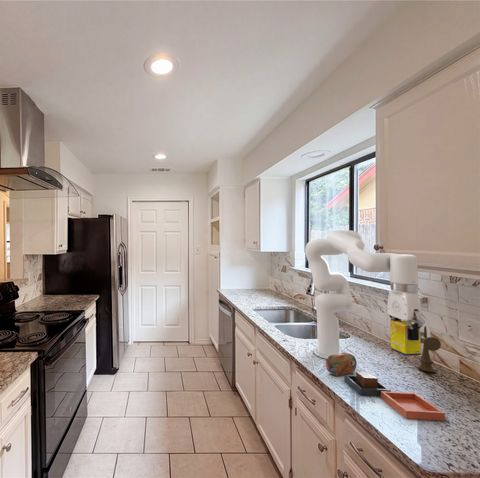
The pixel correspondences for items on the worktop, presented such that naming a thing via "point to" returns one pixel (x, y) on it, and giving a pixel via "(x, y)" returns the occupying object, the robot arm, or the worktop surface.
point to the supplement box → (403, 339)
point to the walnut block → (366, 380)
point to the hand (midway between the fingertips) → (405, 336)
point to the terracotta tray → (412, 406)
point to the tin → (341, 364)
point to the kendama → (429, 344)
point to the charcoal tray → (365, 391)
